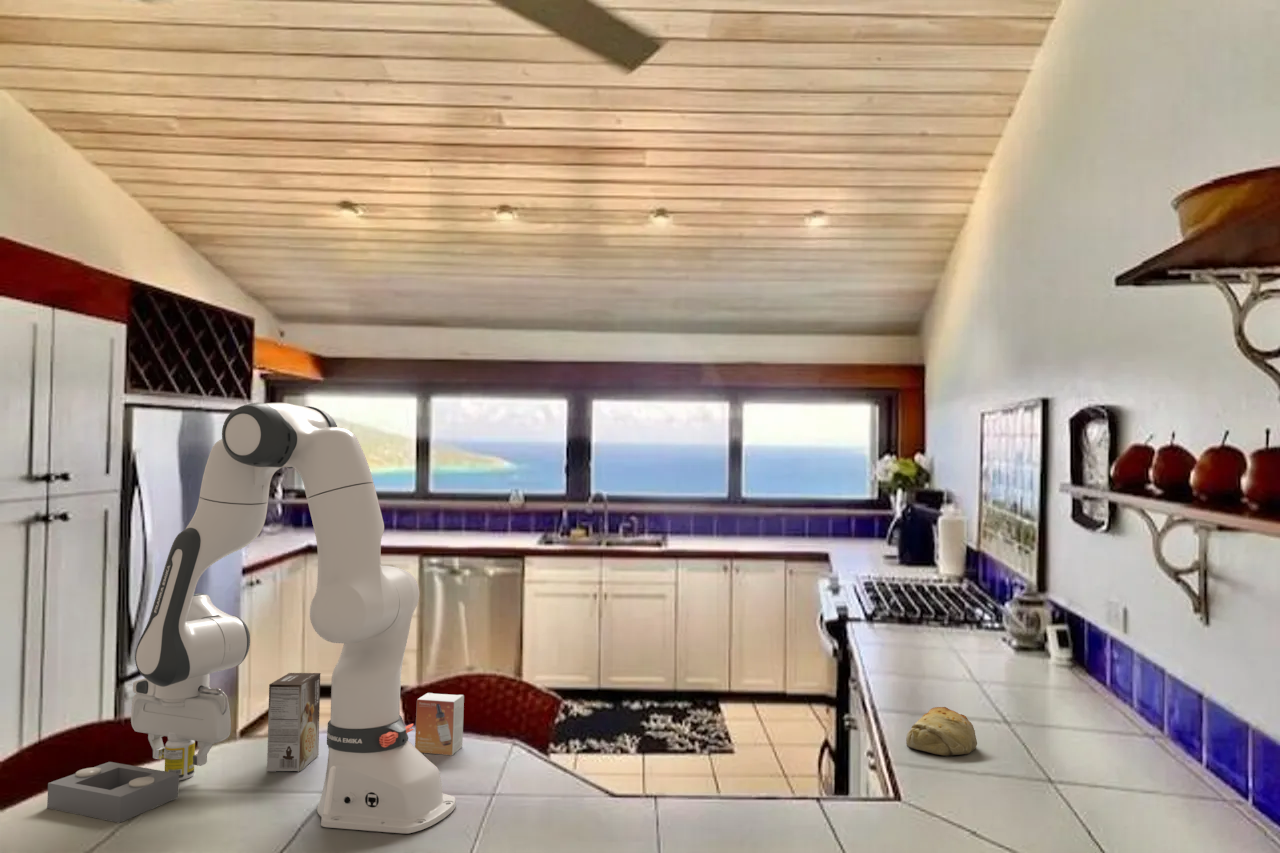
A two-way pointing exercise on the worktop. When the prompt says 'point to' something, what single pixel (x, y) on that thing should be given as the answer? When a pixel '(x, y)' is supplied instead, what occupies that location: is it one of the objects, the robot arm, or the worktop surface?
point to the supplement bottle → (179, 756)
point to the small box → (439, 723)
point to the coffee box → (293, 721)
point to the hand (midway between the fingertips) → (179, 761)
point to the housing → (113, 791)
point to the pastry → (942, 733)
